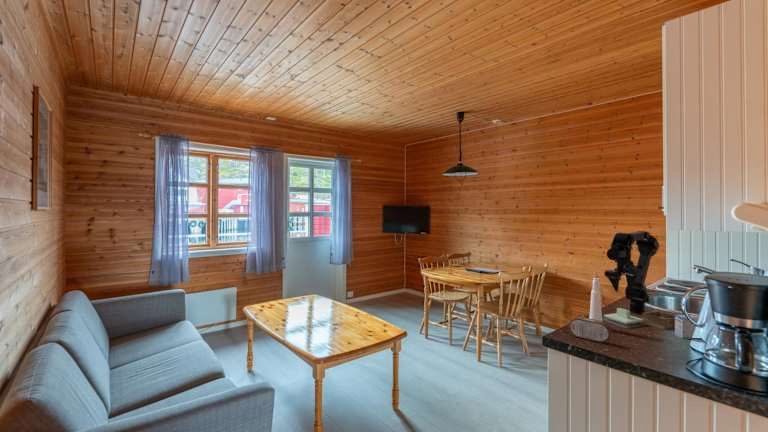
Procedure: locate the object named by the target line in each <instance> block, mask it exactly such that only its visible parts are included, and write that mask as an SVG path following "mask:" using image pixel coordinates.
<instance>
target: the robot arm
mask: <svg viewBox="0 0 768 432" xmlns="http://www.w3.org/2000/svg"><path fill="white" fill-rule="evenodd" d="M634 244H636V246H637V250H638V252H639V257H638V259H637V260H638V261H637V264H636V265H635V263H634V261H633V260H632V250H633V245H634ZM659 248H660V243H659V241H658V239H657V238H656V237H655V236H653V235H652V234H651V233H650V232H649V231H646V230H637V231H634V232H629V233H627V232H616V234H615V235H614V237H613V239H612V242H611V244H610V248H609V249H607V251H606V257H607V258H608V259H609V260H610V261H614V263H616V268H615V267H614V269H606V270H605V271H604V273H603V274H604V276H605V277H606V278H607V279H608V280H609V282H610V284H611V286H612V287H613V289H614V291H615V292H618V291H619V285H620V281H621V280H623V278H622V276H625V279H626V283H627V284H626V287H625V290H624V292H625V293H624V294H625V299H626V300H629V309H628V310H629V311H630V313H634V314H636V315H642V313H645V312H647V311H646V303H650V300H651V297H650V294H649V293H648V291H647V290H648V288H647V286H646V284H645V281H646V279H647V275H648V271H649V267H650V264H651V260H652V257H653V256H655V255H656V254H657V253H658V250H659Z"/></svg>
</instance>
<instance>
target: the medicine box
mask: <svg viewBox="0 0 768 432" xmlns="http://www.w3.org/2000/svg"><path fill="white" fill-rule="evenodd" d="M685 315H686V314H675V315H674V316H675V328H674V335H675V336H677V337H679V338H680V339H691V338H692V335H693V333H694V330H695V325H694V324H692V323H691V322H690V321H689V320H688V319H687V317H686V316H685ZM689 315H690V317H691V318H692V319H693V320H694V321H695V322H697V321H698V318H699V317H700V316H698V315H695V314H689Z"/></svg>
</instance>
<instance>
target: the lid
mask: <svg viewBox="0 0 768 432" xmlns="http://www.w3.org/2000/svg"><path fill="white" fill-rule="evenodd" d="M629 310H630V309H625V308H622V307H617V308H616V312H614V313H609V314H608V313H607V314H603V317H604V318H610V320H611V321H615V322H618V323H621V324H624V325H629V324H636V323H637V322H640V323H642V321H643V320H644V319H642V317H641V318H640V317H637V316H634V315H631V312H630V311H629Z"/></svg>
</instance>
